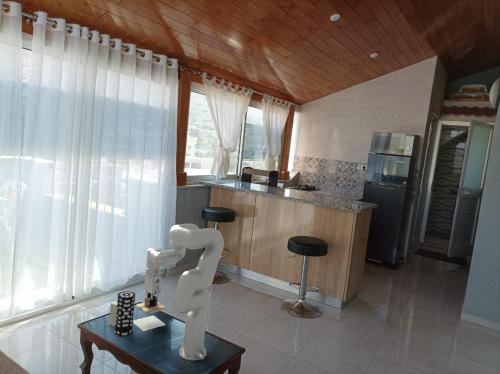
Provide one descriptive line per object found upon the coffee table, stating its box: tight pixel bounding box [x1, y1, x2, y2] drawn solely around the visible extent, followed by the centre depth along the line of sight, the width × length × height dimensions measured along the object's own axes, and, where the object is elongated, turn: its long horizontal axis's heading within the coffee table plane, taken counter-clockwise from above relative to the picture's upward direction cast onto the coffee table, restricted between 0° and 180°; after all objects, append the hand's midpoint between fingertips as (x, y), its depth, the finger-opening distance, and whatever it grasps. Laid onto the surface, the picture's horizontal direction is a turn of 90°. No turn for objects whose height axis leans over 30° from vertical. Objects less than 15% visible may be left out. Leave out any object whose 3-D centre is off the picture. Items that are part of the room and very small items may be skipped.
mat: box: [133, 315, 166, 332], centre depth 191 cm, size 13×13×1 cm
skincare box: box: [108, 300, 117, 328], centre depth 187 cm, size 6×4×12 cm
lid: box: [135, 297, 166, 315], centre depth 190 cm, size 11×11×6 cm
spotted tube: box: [114, 290, 136, 337], centre depth 178 cm, size 8×8×20 cm
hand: (150, 304), depth 190 cm, fingers closed on lid, 3 cm apart
